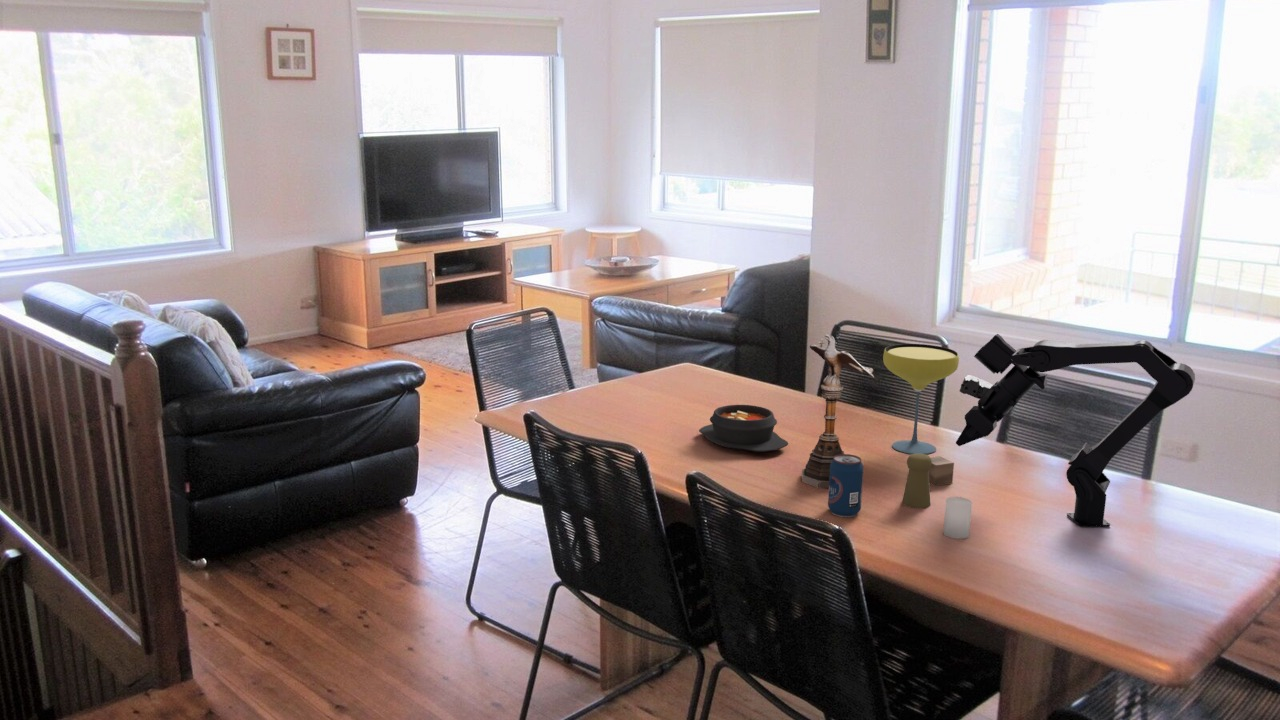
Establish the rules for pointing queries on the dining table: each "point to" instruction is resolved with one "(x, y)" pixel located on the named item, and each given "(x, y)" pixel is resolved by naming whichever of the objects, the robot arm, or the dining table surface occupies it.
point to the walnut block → (941, 471)
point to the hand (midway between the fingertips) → (962, 439)
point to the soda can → (845, 485)
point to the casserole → (744, 428)
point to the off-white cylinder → (957, 517)
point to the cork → (917, 481)
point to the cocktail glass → (919, 378)
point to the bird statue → (829, 413)
